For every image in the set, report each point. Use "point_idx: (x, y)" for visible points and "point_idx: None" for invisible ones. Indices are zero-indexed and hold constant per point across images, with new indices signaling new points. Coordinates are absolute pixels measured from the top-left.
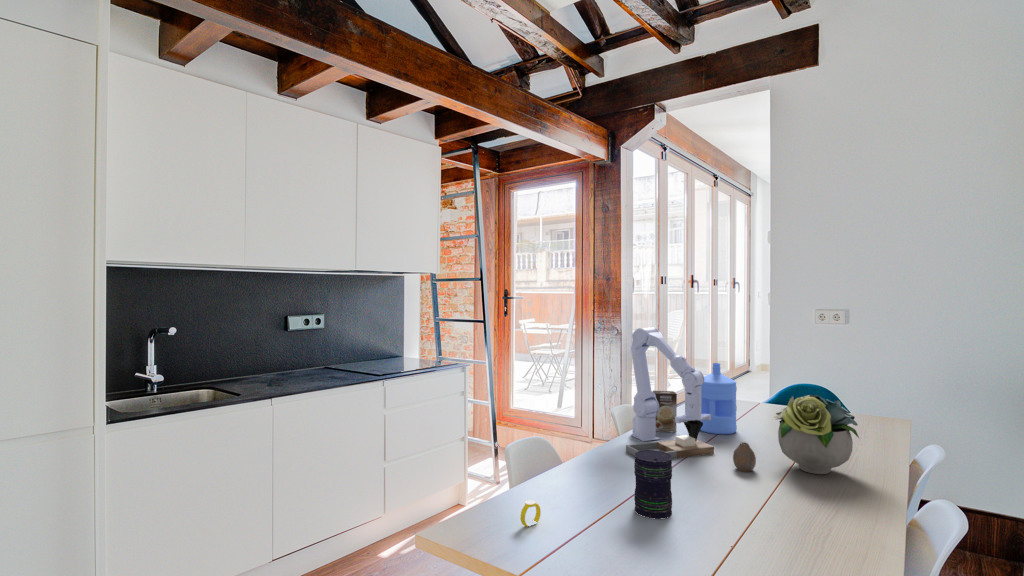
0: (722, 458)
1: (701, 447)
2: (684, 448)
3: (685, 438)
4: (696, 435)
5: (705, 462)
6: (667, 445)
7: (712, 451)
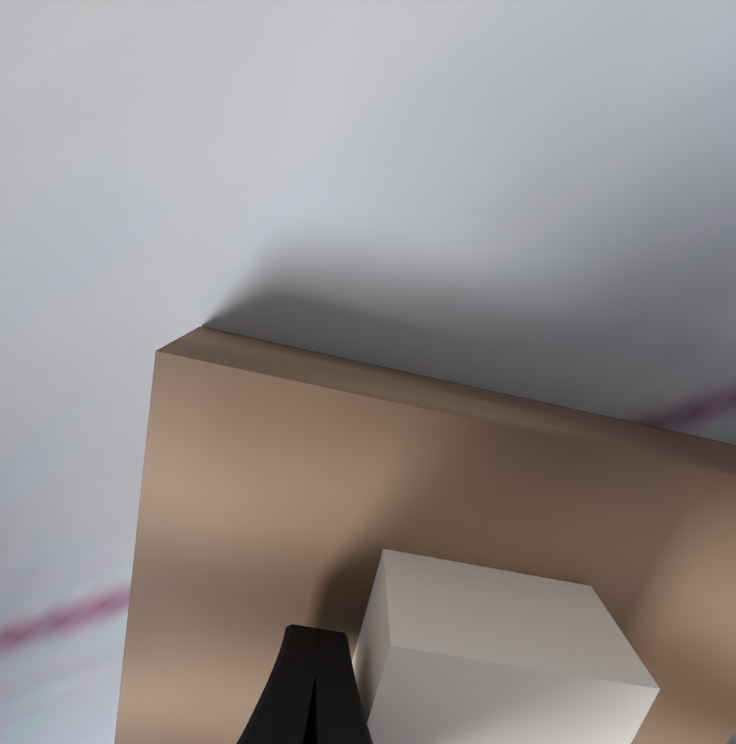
0: (265, 101)
1: (387, 436)
2: (657, 532)
3: (547, 727)
4: (295, 723)
5: (652, 125)
6: (704, 716)
7: (215, 339)
